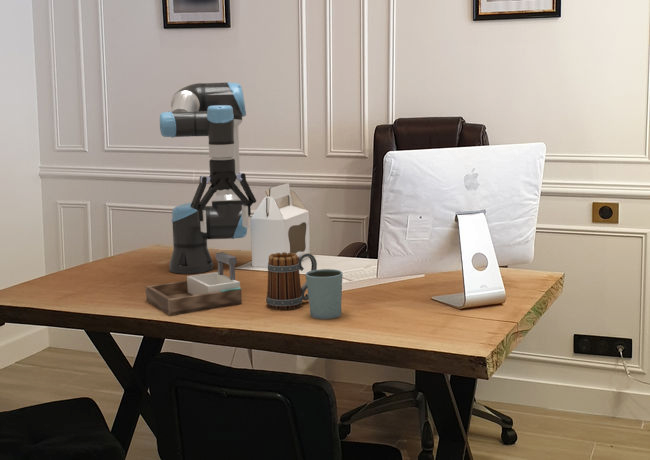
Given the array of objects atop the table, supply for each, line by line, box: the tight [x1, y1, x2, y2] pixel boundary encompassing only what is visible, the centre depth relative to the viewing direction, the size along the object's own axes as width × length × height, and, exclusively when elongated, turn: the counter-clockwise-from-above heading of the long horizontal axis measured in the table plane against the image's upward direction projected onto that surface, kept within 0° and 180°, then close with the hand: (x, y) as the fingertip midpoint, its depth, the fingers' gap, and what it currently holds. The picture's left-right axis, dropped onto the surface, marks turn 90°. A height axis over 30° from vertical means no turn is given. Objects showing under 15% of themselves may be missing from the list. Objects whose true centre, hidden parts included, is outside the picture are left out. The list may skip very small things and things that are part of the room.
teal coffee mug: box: [305, 268, 343, 320], centre depth 231 cm, size 10×10×12 cm
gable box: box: [250, 182, 311, 269], centre depth 302 cm, size 22×13×28 cm, turn 158°
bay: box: [145, 280, 243, 317], centre depth 248 cm, size 22×20×5 cm
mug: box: [265, 252, 318, 311], centre depth 242 cm, size 16×11×15 cm
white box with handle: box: [186, 251, 241, 295], centre depth 251 cm, size 11×16×12 cm, turn 31°
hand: (224, 229), depth 251 cm, fingers open, 13 cm apart
